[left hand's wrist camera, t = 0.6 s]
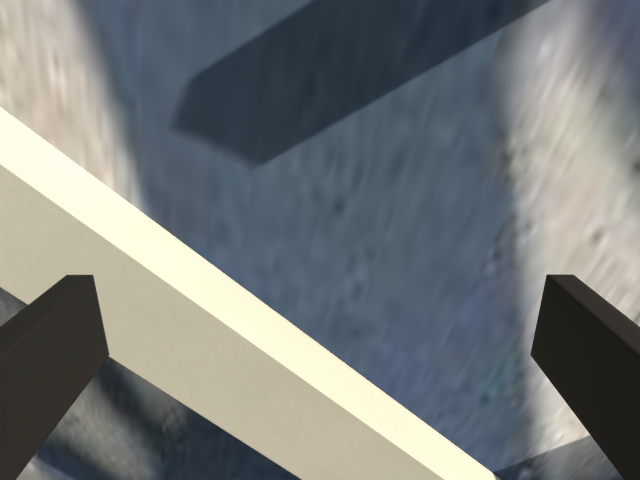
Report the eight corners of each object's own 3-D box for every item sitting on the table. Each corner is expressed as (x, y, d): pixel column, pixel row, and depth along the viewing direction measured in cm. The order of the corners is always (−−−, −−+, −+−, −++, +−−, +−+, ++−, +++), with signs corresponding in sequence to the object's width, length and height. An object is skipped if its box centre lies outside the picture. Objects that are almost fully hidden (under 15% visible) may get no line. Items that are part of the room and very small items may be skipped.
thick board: (-188, 92, 35) (-300, 96, 28) (-147, -3, 32) (-259, -21, 26) (443, 520, 52) (459, 581, 46) (500, 478, 49) (526, 537, 43)
